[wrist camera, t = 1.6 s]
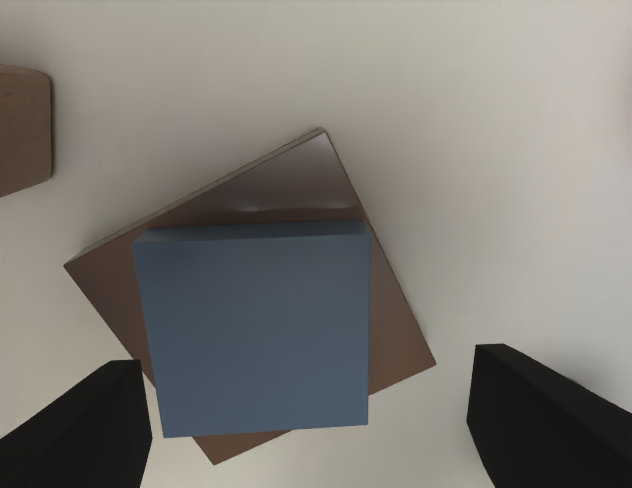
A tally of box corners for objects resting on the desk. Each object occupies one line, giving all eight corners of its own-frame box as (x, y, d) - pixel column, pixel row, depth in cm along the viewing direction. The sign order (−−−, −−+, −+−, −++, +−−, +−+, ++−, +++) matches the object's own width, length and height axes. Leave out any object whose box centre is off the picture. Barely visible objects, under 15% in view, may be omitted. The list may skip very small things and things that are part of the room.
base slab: (219, 437, 22) (213, 466, 20) (82, 249, 18) (61, 265, 17) (424, 343, 21) (437, 365, 19) (321, 126, 17) (325, 129, 16)
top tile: (174, 407, 19) (163, 438, 17) (146, 227, 16) (130, 243, 15) (361, 396, 19) (368, 425, 18) (362, 218, 17) (371, 233, 15)
